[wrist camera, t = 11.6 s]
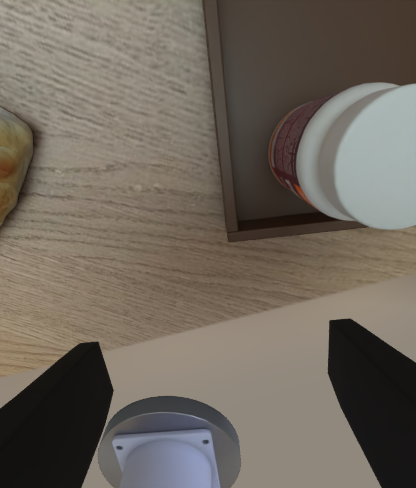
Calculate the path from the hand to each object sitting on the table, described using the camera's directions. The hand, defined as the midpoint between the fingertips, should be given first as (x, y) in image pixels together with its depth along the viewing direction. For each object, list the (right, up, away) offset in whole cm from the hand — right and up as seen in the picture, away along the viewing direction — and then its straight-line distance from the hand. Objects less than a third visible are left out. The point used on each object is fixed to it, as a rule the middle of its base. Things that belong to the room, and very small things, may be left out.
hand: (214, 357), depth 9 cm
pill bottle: (+5, +9, +7) cm, 13 cm away
